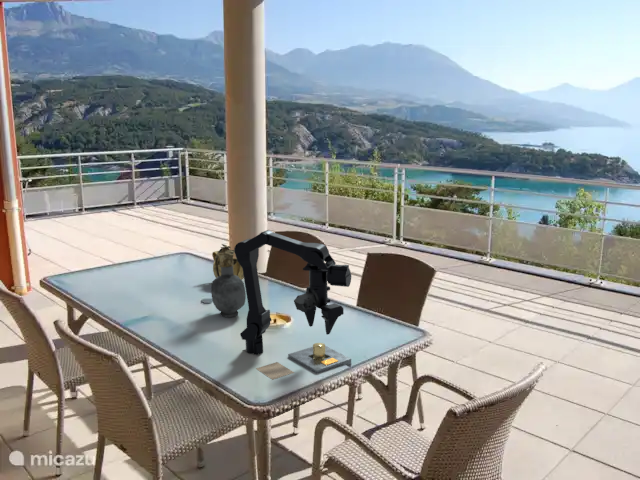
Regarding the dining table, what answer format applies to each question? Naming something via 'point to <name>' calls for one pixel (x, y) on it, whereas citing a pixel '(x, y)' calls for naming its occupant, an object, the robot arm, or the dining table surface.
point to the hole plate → (330, 362)
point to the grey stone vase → (227, 285)
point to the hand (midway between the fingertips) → (319, 330)
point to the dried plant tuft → (236, 267)
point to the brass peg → (318, 351)
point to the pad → (275, 370)
